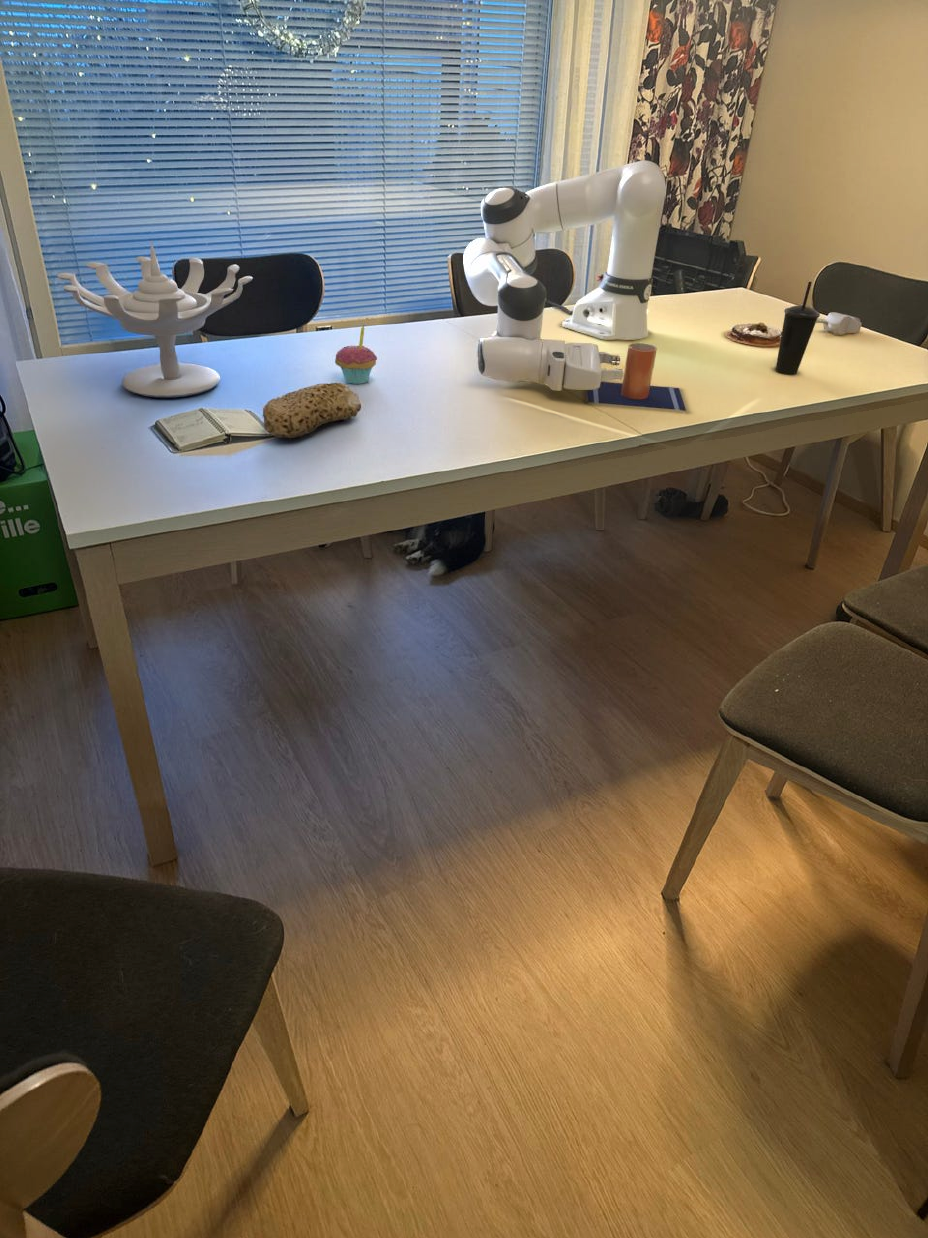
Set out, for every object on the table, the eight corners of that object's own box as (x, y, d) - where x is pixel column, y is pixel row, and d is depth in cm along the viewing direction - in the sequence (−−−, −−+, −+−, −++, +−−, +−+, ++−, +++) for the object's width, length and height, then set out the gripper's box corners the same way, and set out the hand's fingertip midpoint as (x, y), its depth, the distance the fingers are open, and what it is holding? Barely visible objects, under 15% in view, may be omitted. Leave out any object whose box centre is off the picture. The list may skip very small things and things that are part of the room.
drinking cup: (805, 378, 192) (831, 287, 181) (771, 374, 193) (794, 283, 182) (800, 368, 198) (825, 279, 187) (767, 365, 199) (790, 276, 188)
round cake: (715, 331, 222) (718, 315, 220) (764, 329, 226) (768, 314, 223) (744, 347, 210) (748, 330, 208) (796, 346, 214) (800, 329, 212)
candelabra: (104, 427, 148) (71, 265, 133) (65, 370, 172) (33, 226, 157) (286, 400, 164) (275, 252, 149) (226, 351, 188) (212, 219, 173)
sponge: (332, 412, 163) (238, 410, 150) (342, 374, 159) (246, 370, 146) (367, 446, 156) (272, 447, 143) (378, 407, 152) (281, 406, 139)
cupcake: (383, 377, 178) (382, 320, 171) (366, 389, 171) (365, 330, 165) (346, 371, 180) (344, 314, 174) (328, 383, 174) (326, 324, 167)
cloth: (587, 404, 171) (587, 402, 170) (586, 382, 182) (586, 380, 182) (685, 412, 169) (686, 410, 169) (678, 389, 181) (679, 387, 181)
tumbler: (615, 394, 175) (623, 346, 169) (628, 388, 179) (636, 340, 173) (640, 401, 172) (649, 352, 167) (653, 394, 176) (661, 346, 171)
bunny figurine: (872, 319, 225) (840, 317, 217) (865, 338, 228) (832, 337, 220) (843, 310, 231) (810, 309, 224) (836, 329, 234) (803, 328, 226)
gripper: (553, 362, 184) (616, 367, 183) (552, 393, 167) (622, 398, 166) (556, 333, 180) (620, 337, 179) (556, 361, 163) (627, 366, 163)
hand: (621, 367), depth 173 cm, fingers open, 8 cm apart
